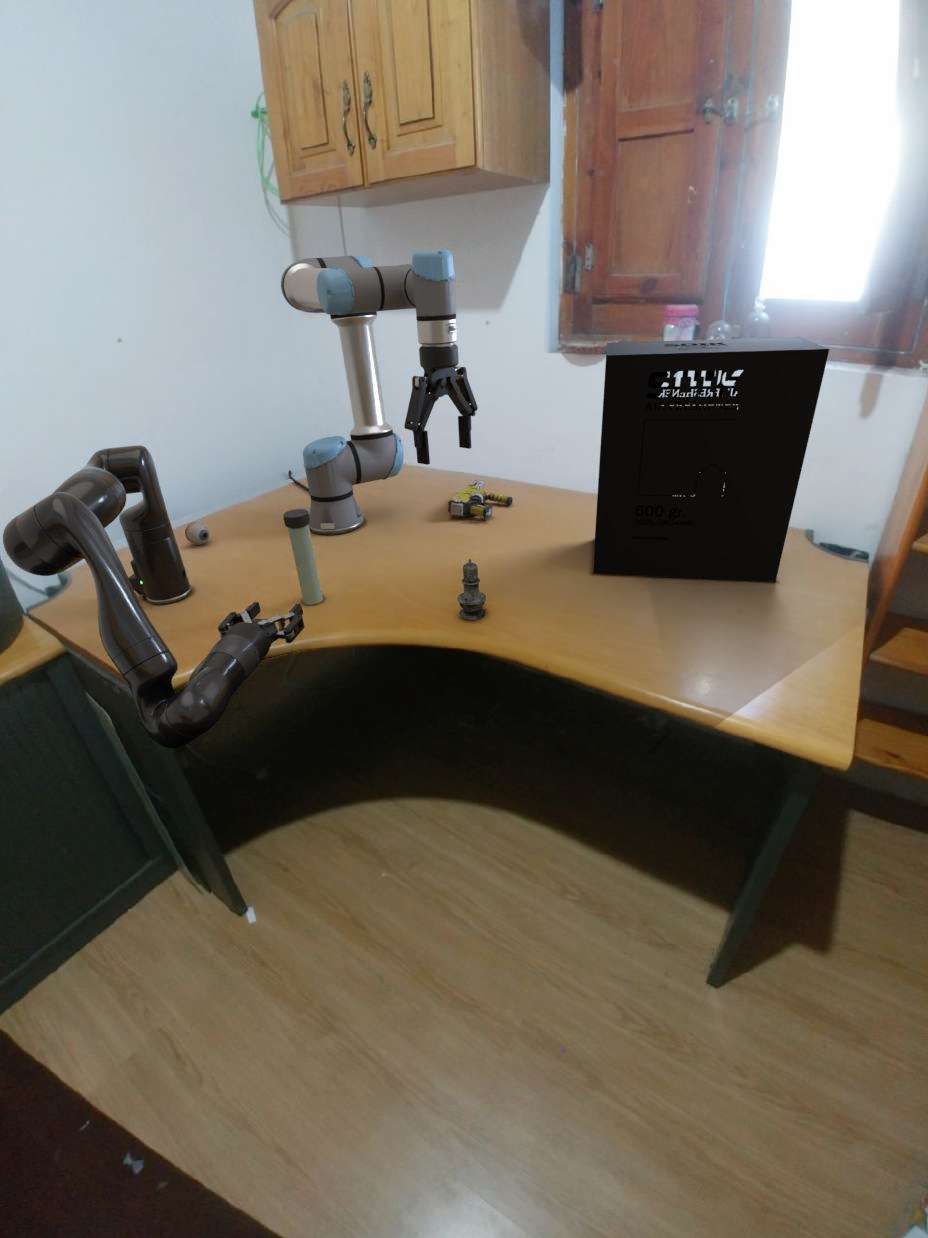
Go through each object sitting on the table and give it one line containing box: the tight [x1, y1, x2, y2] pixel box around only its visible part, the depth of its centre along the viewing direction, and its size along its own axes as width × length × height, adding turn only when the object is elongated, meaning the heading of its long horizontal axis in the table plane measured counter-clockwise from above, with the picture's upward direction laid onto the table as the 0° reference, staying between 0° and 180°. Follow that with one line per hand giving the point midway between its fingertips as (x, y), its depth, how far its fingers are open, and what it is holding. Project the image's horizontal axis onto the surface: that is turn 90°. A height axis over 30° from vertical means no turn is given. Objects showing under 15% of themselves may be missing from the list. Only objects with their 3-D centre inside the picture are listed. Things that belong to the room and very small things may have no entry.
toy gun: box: [447, 479, 514, 521], centre depth 175 cm, size 5×24×15 cm
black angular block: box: [592, 336, 830, 583], centre depth 128 cm, size 38×20×45 cm, turn 78°
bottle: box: [287, 524, 324, 606], centre depth 126 cm, size 4×4×19 cm
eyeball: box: [184, 521, 211, 546], centre depth 161 cm, size 6×6×6 cm
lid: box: [282, 508, 310, 529], centre depth 121 cm, size 5×5×2 cm
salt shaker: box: [456, 558, 487, 621], centre depth 119 cm, size 6×6×12 cm
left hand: (278, 606), depth 115 cm, fingers open, 8 cm apart
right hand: (445, 455), depth 126 cm, fingers open, 13 cm apart
